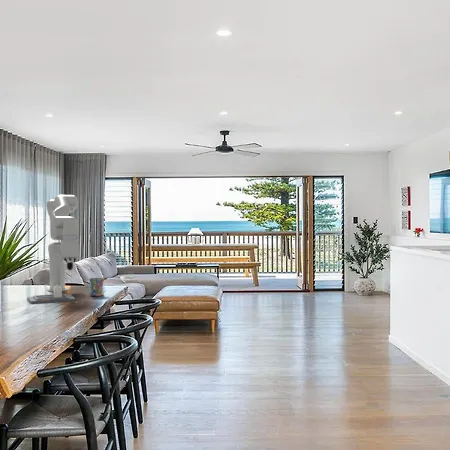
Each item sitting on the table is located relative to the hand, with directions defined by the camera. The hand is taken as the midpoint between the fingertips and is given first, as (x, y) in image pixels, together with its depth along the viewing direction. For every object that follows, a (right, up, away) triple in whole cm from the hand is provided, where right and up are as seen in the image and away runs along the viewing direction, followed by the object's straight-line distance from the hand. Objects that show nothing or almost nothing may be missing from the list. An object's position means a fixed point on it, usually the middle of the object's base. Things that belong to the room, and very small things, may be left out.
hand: (69, 269), depth 300 cm
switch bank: (-11, -18, -1) cm, 20 cm away
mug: (+12, -18, +15) cm, 26 cm away
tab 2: (-6, -16, -3) cm, 17 cm away
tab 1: (-9, -16, +4) cm, 19 cm away
